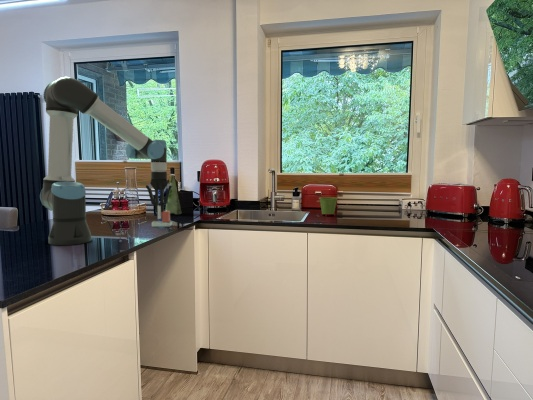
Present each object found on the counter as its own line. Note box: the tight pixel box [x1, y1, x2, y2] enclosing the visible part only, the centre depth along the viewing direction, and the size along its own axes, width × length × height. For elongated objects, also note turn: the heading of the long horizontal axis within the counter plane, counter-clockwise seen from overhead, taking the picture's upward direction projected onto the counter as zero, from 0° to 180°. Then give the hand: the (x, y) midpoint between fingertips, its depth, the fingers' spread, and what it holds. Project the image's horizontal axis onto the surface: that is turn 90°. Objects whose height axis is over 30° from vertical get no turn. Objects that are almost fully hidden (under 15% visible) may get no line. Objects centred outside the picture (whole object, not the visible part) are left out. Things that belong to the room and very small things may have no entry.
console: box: [151, 220, 173, 228], centre depth 192 cm, size 5×9×2 cm, turn 95°
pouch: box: [164, 173, 182, 215], centre depth 235 cm, size 11×12×25 cm
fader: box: [161, 210, 171, 222], centre depth 192 cm, size 5×3×5 cm, turn 5°
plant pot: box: [318, 196, 339, 215], centre depth 237 cm, size 12×12×11 cm
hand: (159, 218), depth 191 cm, fingers closed
